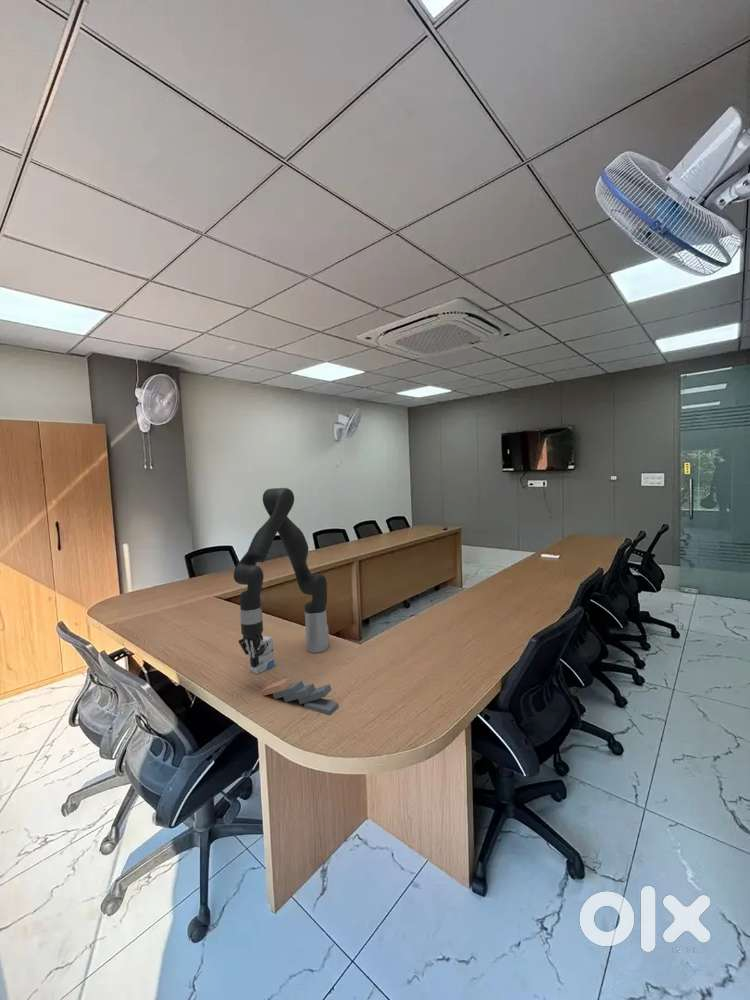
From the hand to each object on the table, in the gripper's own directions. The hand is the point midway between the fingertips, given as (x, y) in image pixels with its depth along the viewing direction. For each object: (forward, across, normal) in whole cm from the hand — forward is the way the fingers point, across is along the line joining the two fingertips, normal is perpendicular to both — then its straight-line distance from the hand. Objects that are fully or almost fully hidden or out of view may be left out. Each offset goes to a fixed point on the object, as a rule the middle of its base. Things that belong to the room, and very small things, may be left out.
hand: (254, 666), depth 148 cm
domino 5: (+8, -25, 0) cm, 26 cm away
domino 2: (+7, -12, +1) cm, 13 cm away
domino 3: (+7, -16, +1) cm, 18 cm away
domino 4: (+7, -22, 0) cm, 23 cm away
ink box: (+8, +9, -12) cm, 17 cm away
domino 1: (+7, -6, +1) cm, 9 cm away
